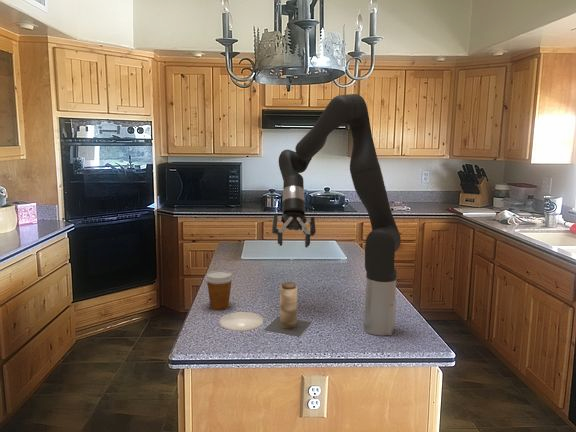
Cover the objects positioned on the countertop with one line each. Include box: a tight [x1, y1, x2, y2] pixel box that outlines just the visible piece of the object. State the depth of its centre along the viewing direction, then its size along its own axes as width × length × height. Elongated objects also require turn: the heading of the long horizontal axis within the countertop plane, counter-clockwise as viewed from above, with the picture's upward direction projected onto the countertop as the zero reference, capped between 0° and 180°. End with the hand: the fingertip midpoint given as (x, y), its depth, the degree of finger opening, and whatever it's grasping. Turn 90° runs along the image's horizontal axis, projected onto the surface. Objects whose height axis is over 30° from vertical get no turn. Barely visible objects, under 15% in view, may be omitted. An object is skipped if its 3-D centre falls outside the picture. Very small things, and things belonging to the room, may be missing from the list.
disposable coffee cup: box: [205, 270, 234, 311], centre depth 165 cm, size 10×10×12 cm
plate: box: [219, 311, 264, 332], centre depth 152 cm, size 14×14×1 cm
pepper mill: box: [279, 281, 298, 330], centre depth 148 cm, size 5×5×14 cm
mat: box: [263, 316, 313, 338], centre depth 150 cm, size 12×12×1 cm
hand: (293, 245), depth 153 cm, fingers open, 8 cm apart
